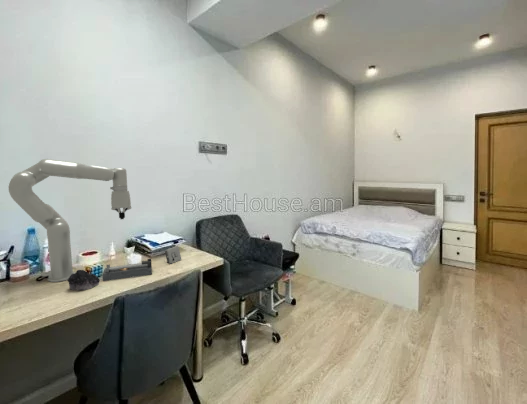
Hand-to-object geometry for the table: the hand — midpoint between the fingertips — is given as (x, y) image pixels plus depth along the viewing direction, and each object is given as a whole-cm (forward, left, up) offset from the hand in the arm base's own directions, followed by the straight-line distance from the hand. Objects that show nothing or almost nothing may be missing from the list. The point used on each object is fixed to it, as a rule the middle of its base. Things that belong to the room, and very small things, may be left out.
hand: (122, 219), depth 163 cm
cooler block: (+3, -18, -29) cm, 34 cm away
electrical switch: (+28, -4, -29) cm, 41 cm away
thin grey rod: (+3, -18, -25) cm, 31 cm away
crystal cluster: (-17, -25, -30) cm, 42 cm away
